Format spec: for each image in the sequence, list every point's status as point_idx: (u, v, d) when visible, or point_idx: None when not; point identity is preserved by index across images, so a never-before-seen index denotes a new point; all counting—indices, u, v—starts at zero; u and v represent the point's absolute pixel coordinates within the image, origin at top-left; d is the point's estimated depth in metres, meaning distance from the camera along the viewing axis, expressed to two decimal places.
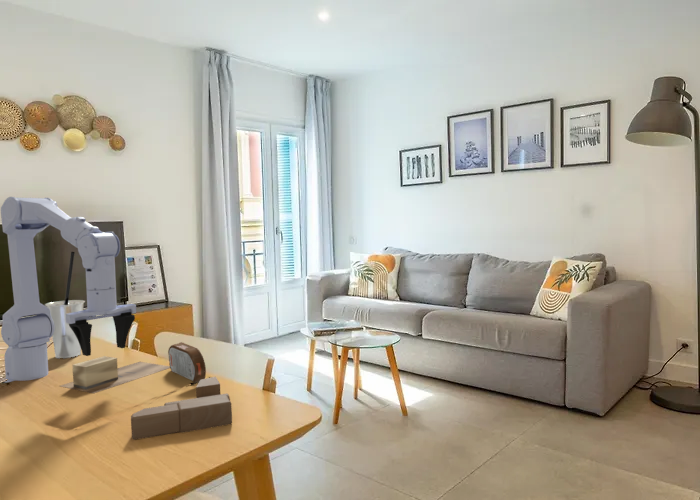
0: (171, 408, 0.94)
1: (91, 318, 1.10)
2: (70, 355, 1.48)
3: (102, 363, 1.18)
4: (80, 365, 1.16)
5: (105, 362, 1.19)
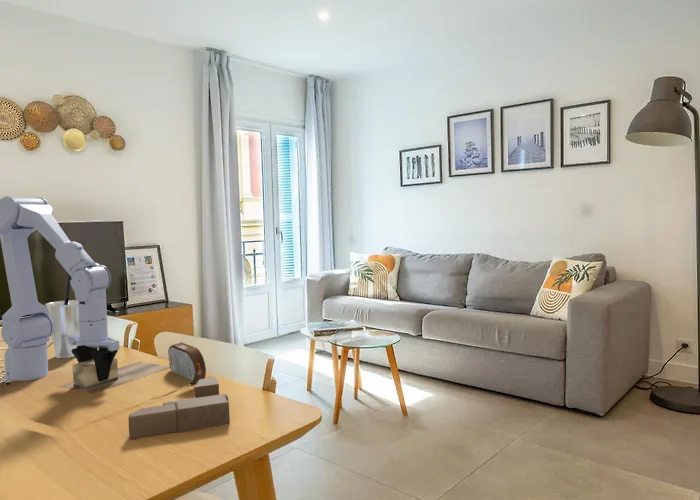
0: (168, 408, 0.94)
1: (85, 345, 1.20)
2: (70, 355, 1.48)
3: None
4: (80, 365, 1.16)
5: None
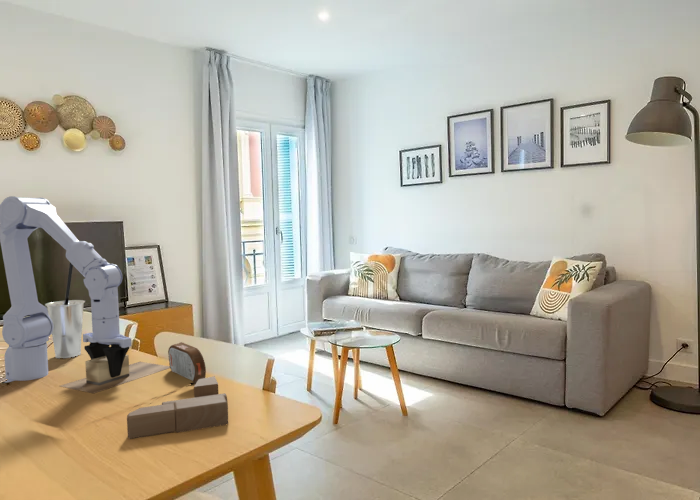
0: (167, 407, 0.94)
1: (98, 342, 1.23)
2: (70, 355, 1.48)
3: None
4: (93, 361, 1.19)
5: None
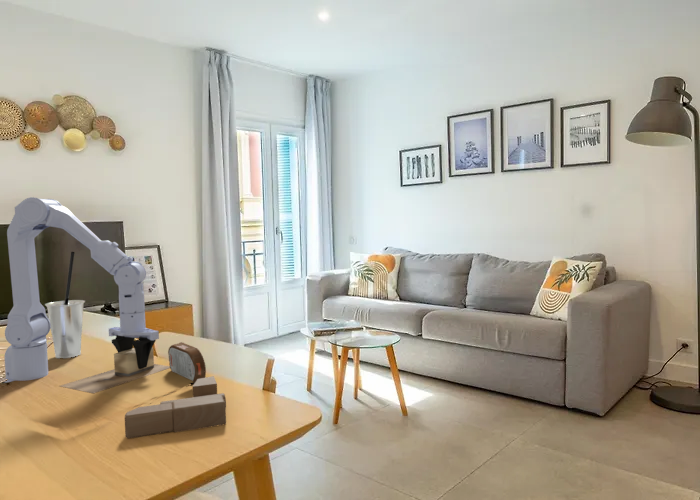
0: (165, 407, 0.94)
1: (124, 335, 1.29)
2: (70, 355, 1.48)
3: None
4: (122, 354, 1.25)
5: None
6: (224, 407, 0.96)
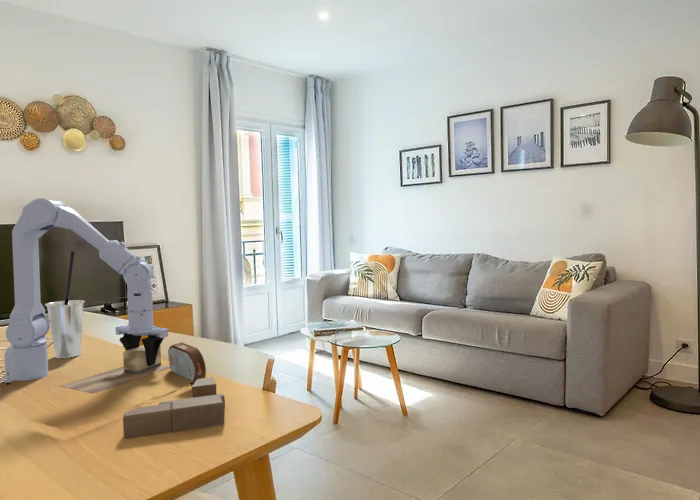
0: (163, 408, 0.94)
1: (132, 333, 1.31)
2: (70, 355, 1.48)
3: None
4: (131, 352, 1.27)
5: None
6: (222, 408, 0.96)
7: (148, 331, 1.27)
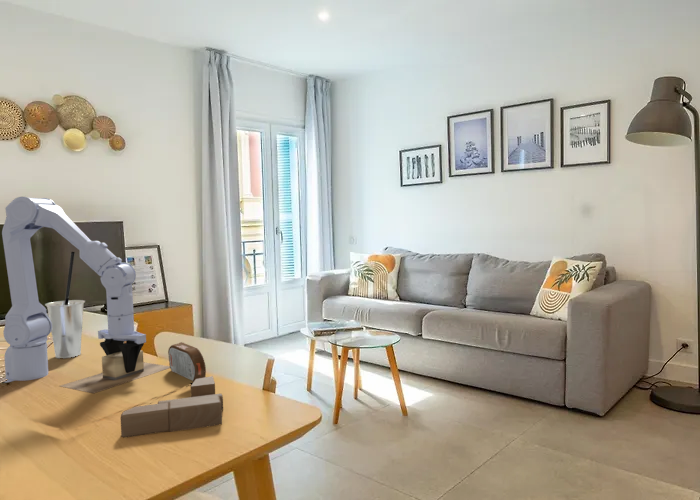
0: (161, 407, 0.95)
1: (113, 338, 1.26)
2: (70, 355, 1.48)
3: None
4: (109, 357, 1.22)
5: None
6: (220, 407, 0.96)
7: (125, 336, 1.22)
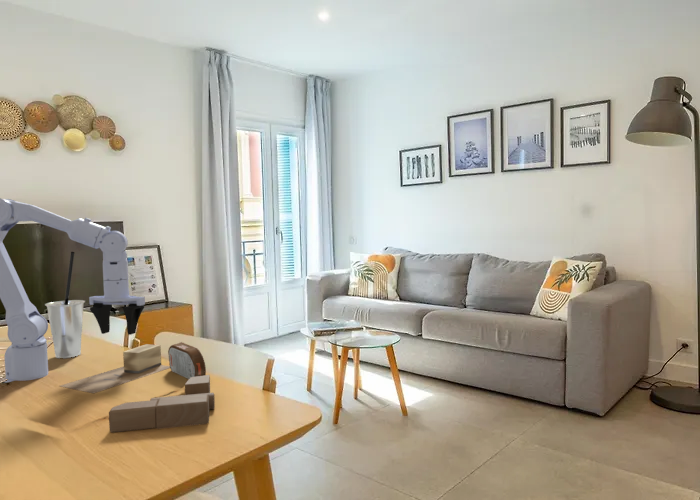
0: (149, 404, 0.96)
1: (107, 303, 1.31)
2: (70, 355, 1.48)
3: (150, 349, 1.30)
4: (131, 352, 1.27)
5: (152, 349, 1.31)
6: (206, 407, 0.97)
7: (125, 299, 1.28)
